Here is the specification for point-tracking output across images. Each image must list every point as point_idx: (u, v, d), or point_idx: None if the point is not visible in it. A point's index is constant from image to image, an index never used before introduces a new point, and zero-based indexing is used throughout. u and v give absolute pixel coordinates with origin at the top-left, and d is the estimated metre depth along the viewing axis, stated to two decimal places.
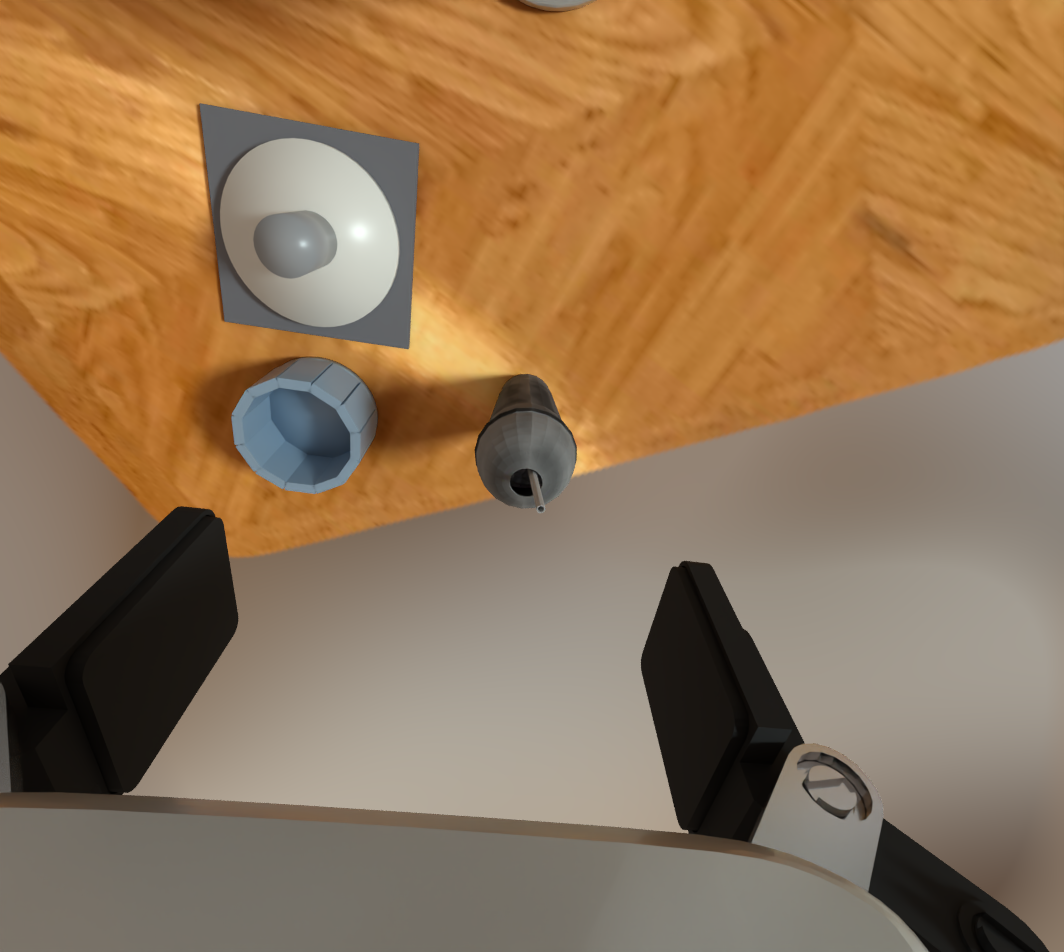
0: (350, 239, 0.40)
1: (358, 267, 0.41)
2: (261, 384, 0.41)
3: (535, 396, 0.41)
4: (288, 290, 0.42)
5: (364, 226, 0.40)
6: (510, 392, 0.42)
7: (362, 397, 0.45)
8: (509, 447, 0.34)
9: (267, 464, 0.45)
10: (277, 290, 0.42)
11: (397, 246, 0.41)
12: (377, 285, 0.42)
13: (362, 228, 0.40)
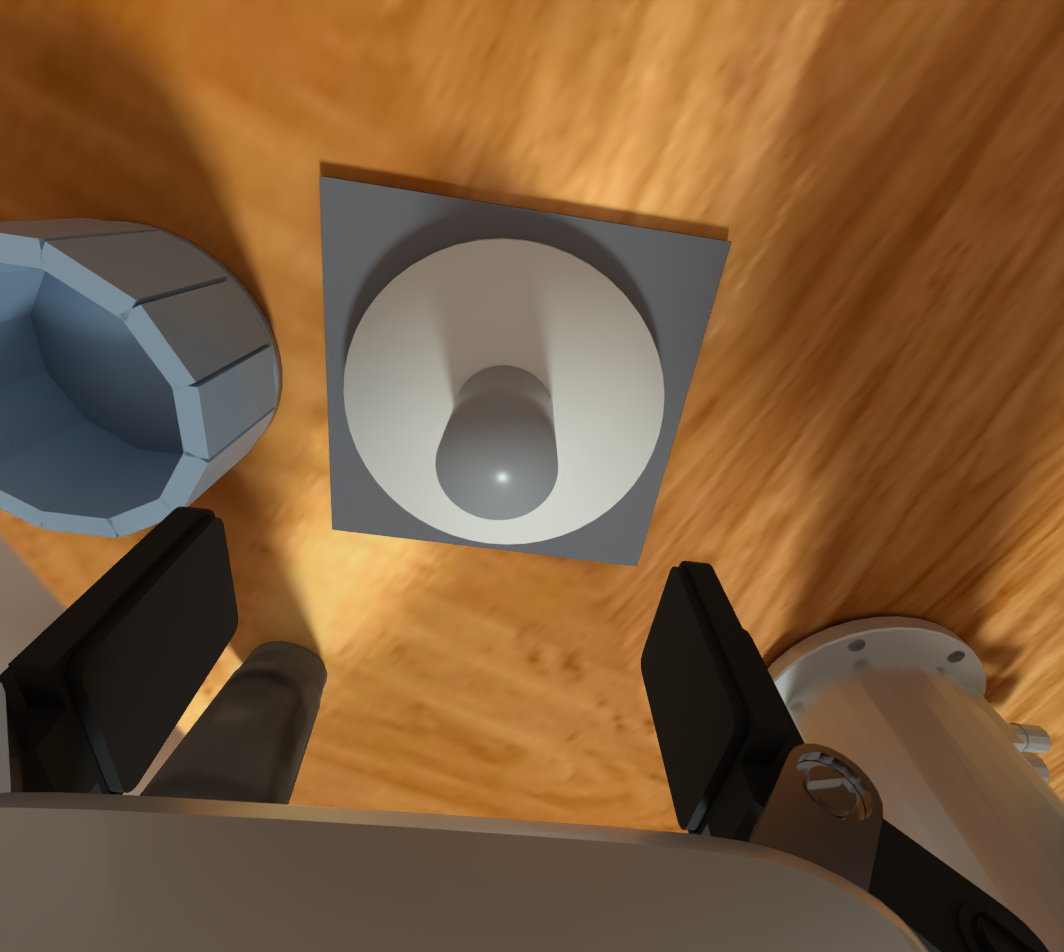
0: None
1: None
2: (167, 345, 0.16)
3: (288, 800, 0.25)
4: (408, 356, 0.21)
5: None
6: (287, 739, 0.26)
7: None
8: None
9: None
10: (405, 333, 0.20)
11: None
12: (434, 510, 0.24)
13: None
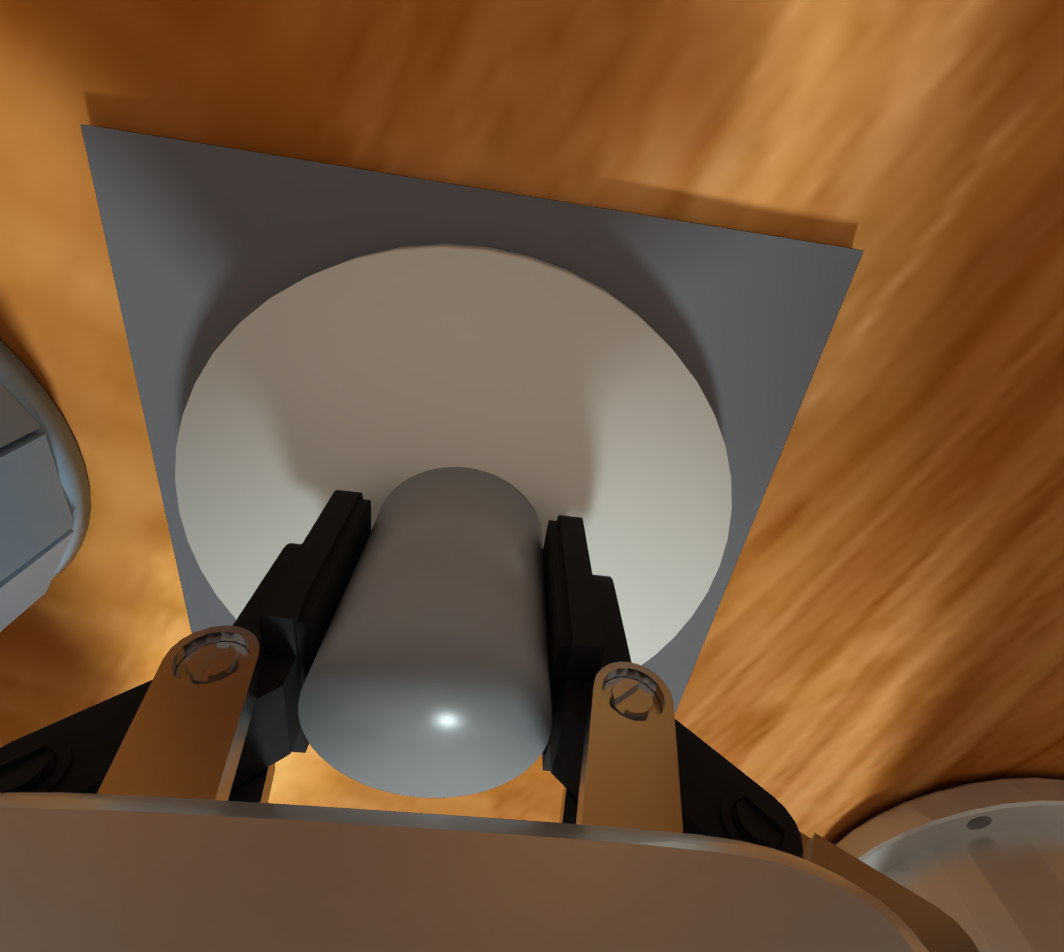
0: None
1: None
2: None
3: None
4: (284, 454, 0.12)
5: None
6: None
7: None
8: None
9: None
10: (274, 418, 0.11)
11: None
12: None
13: None
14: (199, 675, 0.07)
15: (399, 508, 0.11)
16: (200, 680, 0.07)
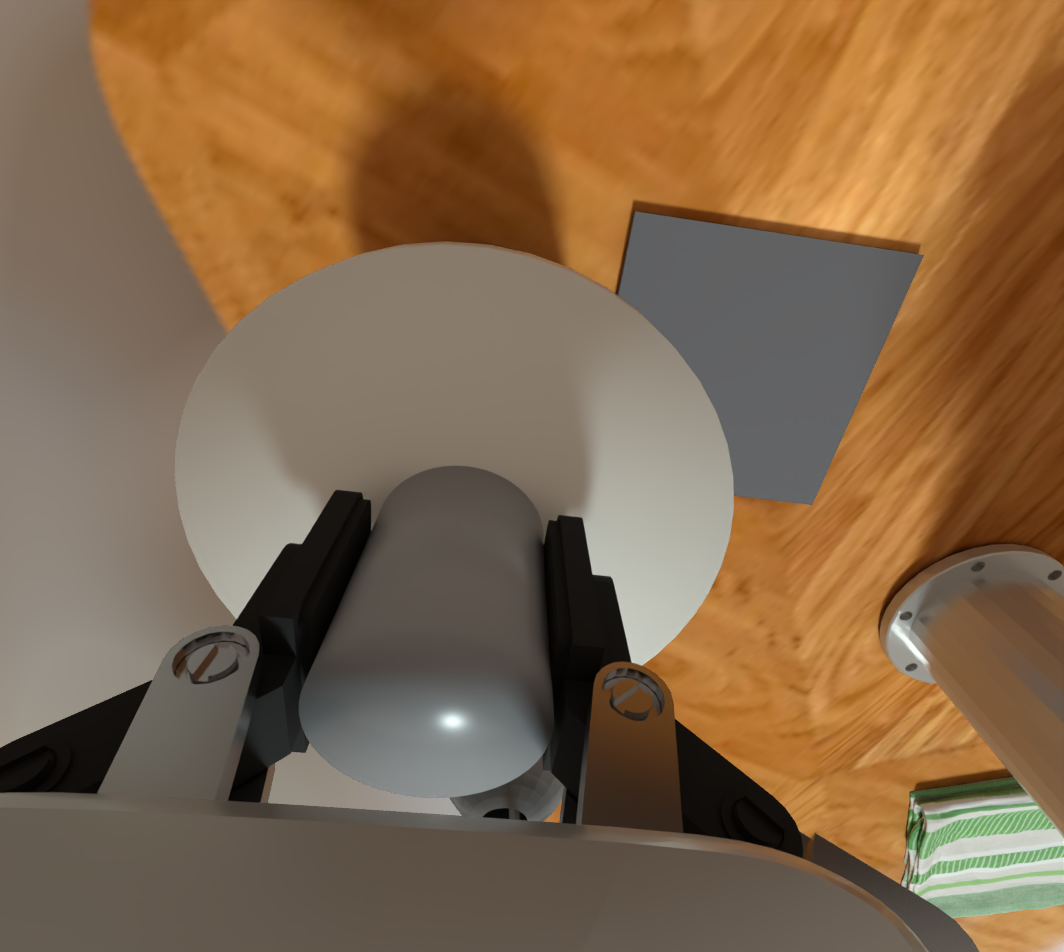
0: None
1: None
2: None
3: None
4: (284, 453, 0.12)
5: None
6: None
7: None
8: (549, 787, 0.25)
9: None
10: (274, 417, 0.11)
11: None
12: None
13: None
14: (199, 675, 0.07)
15: (400, 507, 0.11)
16: (200, 680, 0.07)
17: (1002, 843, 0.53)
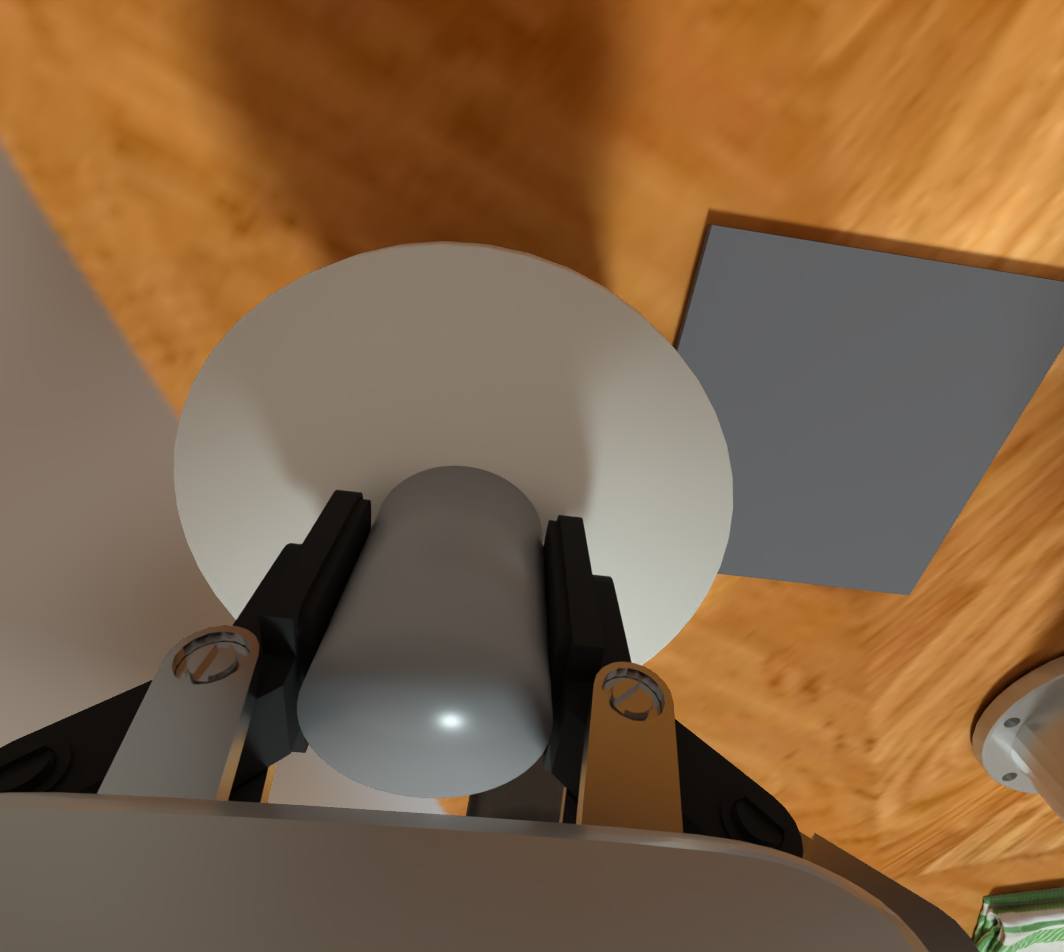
0: None
1: None
2: None
3: None
4: (283, 453, 0.12)
5: None
6: None
7: None
8: None
9: None
10: (273, 416, 0.11)
11: None
12: None
13: None
14: (199, 675, 0.07)
15: (399, 507, 0.11)
16: (200, 680, 0.07)
17: None
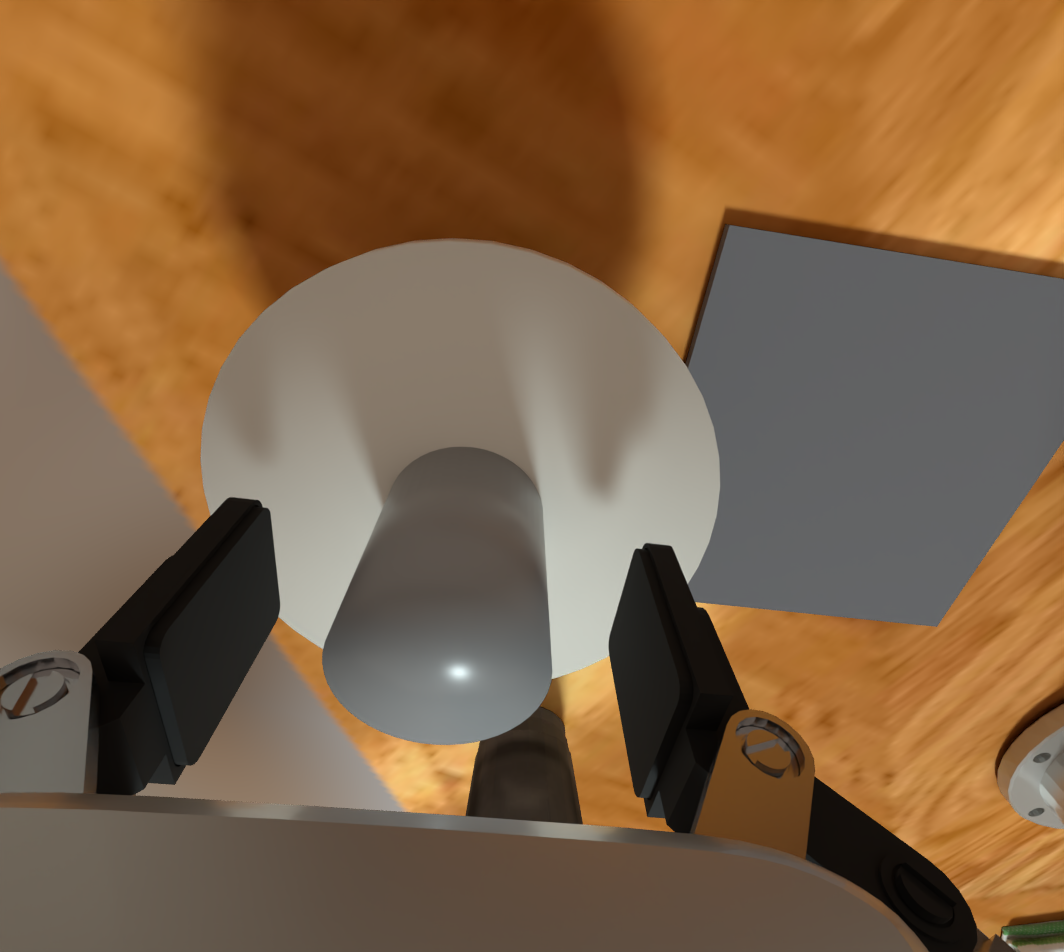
0: None
1: None
2: None
3: None
4: (302, 434, 0.13)
5: None
6: (578, 822, 0.24)
7: None
8: None
9: None
10: (293, 400, 0.12)
11: None
12: None
13: None
14: (20, 709, 0.07)
15: (410, 483, 0.12)
16: (23, 714, 0.07)
17: None
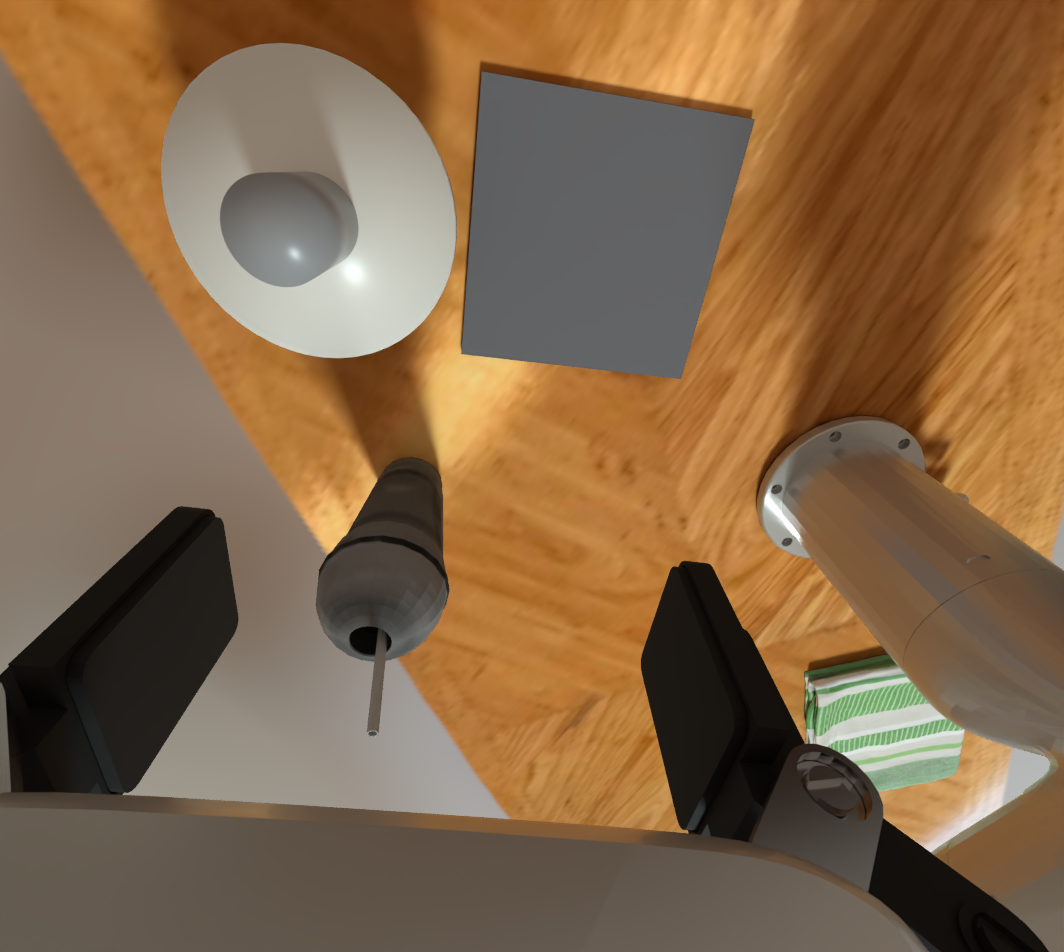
0: (329, 289, 0.26)
1: (289, 296, 0.26)
2: None
3: None
4: (216, 163, 0.23)
5: (352, 312, 0.27)
6: (436, 507, 0.35)
7: None
8: (412, 610, 0.27)
9: None
10: (210, 140, 0.23)
11: (334, 356, 0.28)
12: (269, 323, 0.27)
13: (349, 309, 0.27)
14: None
15: None
16: None
17: (890, 720, 0.58)
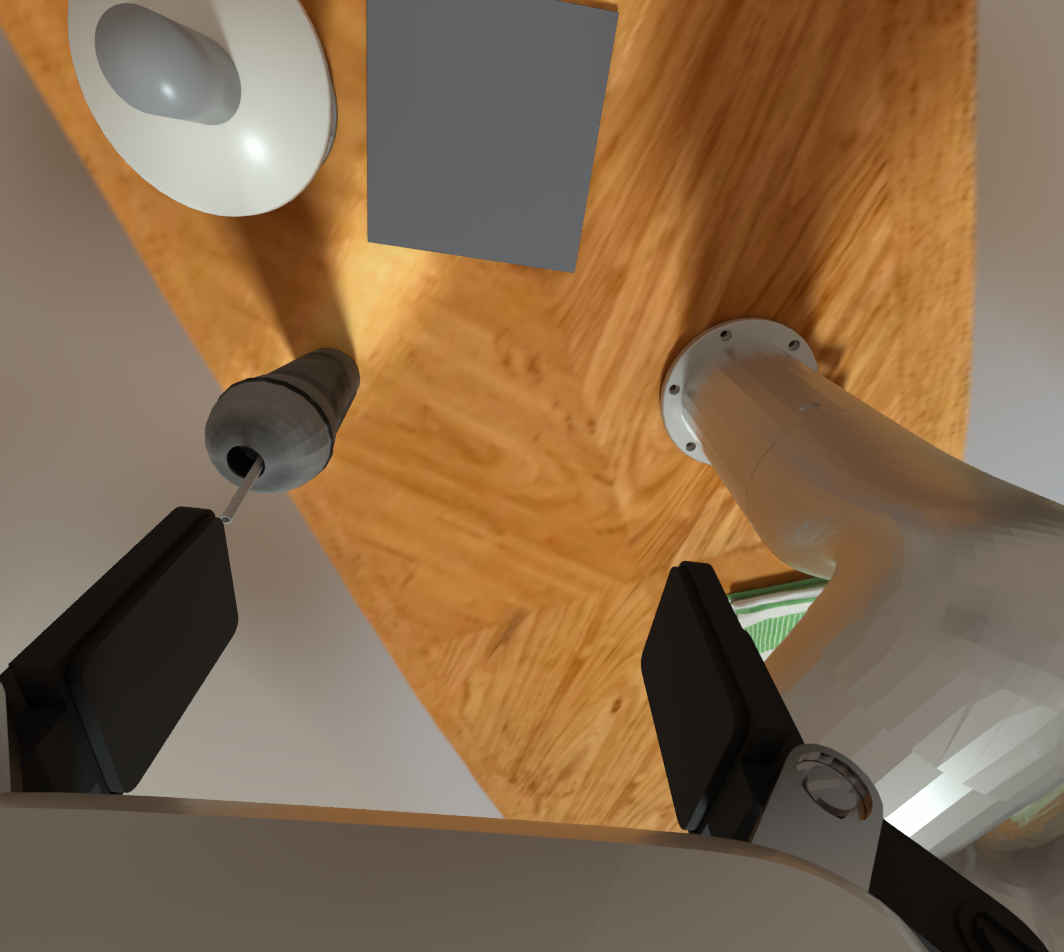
0: (220, 147, 0.30)
1: (186, 153, 0.30)
2: None
3: (342, 416, 0.38)
4: None
5: (242, 170, 0.30)
6: (340, 381, 0.38)
7: None
8: (285, 438, 0.30)
9: None
10: (107, 1, 0.27)
11: (230, 215, 0.32)
12: (169, 180, 0.30)
13: (239, 168, 0.30)
14: None
15: None
16: None
17: None
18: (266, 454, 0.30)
